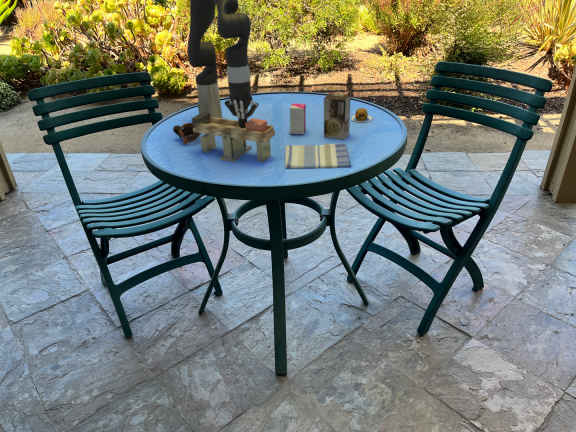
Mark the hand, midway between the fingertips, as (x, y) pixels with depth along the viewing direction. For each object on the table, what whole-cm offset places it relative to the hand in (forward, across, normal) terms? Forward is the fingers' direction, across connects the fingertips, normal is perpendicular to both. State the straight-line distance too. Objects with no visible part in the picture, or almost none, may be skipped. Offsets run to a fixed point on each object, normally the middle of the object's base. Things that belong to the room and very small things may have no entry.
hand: (243, 127), depth 150 cm
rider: (+1, +5, 0) cm, 5 cm away
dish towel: (+12, +26, +7) cm, 29 cm away
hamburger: (+12, +30, +50) cm, 60 cm away
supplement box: (+11, +10, +27) cm, 31 cm away
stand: (+11, -4, 0) cm, 12 cm away
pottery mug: (+12, -30, +5) cm, 33 cm away
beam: (+2, -4, 0) cm, 5 cm away
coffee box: (+11, +26, +29) cm, 40 cm away
